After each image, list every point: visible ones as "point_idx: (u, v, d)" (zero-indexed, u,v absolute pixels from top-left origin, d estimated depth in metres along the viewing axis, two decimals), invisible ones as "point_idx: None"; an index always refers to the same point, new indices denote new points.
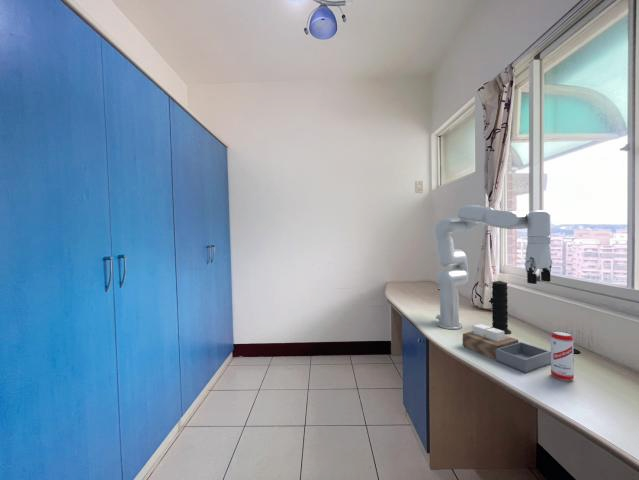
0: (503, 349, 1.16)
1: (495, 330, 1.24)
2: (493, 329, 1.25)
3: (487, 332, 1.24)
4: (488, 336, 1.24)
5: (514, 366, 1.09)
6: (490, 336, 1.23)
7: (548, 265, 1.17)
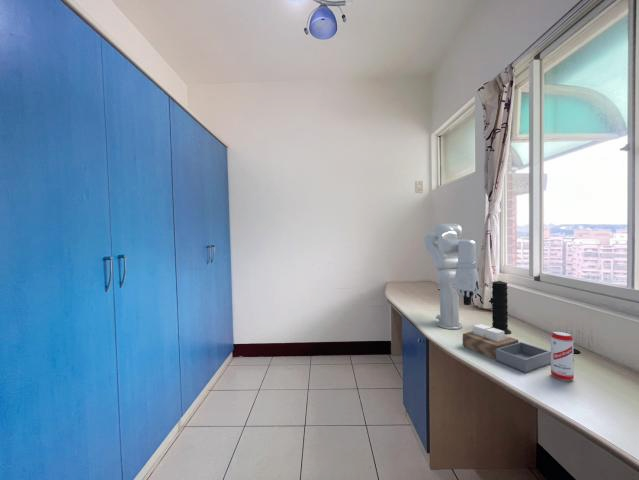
0: (503, 349, 1.16)
1: (495, 330, 1.24)
2: (493, 329, 1.25)
3: (487, 332, 1.24)
4: (488, 336, 1.24)
5: (514, 366, 1.09)
6: (490, 336, 1.23)
7: None
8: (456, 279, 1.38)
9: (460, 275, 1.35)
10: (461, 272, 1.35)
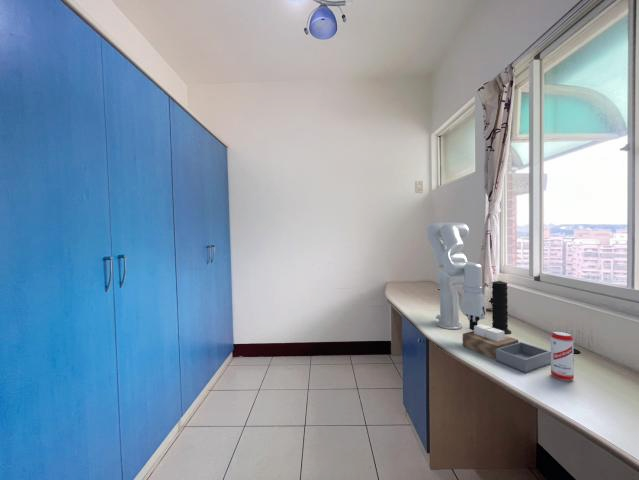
0: (503, 349, 1.16)
1: (495, 330, 1.24)
2: (493, 329, 1.25)
3: (487, 332, 1.24)
4: (488, 336, 1.24)
5: (514, 366, 1.09)
6: (490, 336, 1.23)
7: None
8: (462, 303, 1.35)
9: (466, 299, 1.33)
10: (467, 296, 1.33)
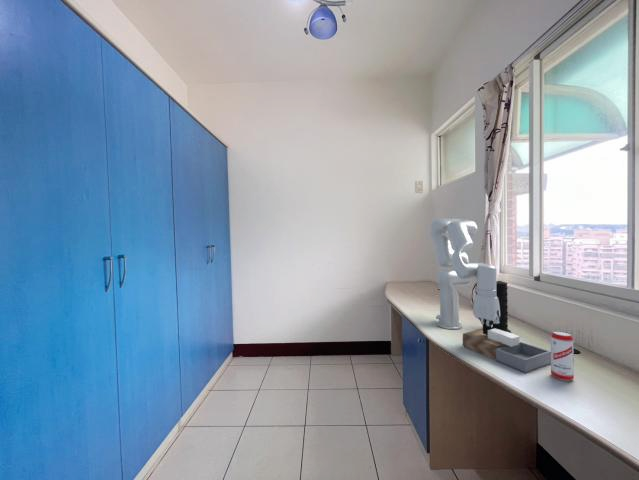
0: (503, 349, 1.16)
1: (509, 335, 1.18)
2: (507, 333, 1.19)
3: (501, 336, 1.19)
4: (502, 340, 1.19)
5: (514, 366, 1.09)
6: (504, 341, 1.18)
7: None
8: (475, 306, 1.29)
9: (479, 302, 1.27)
10: (480, 299, 1.27)
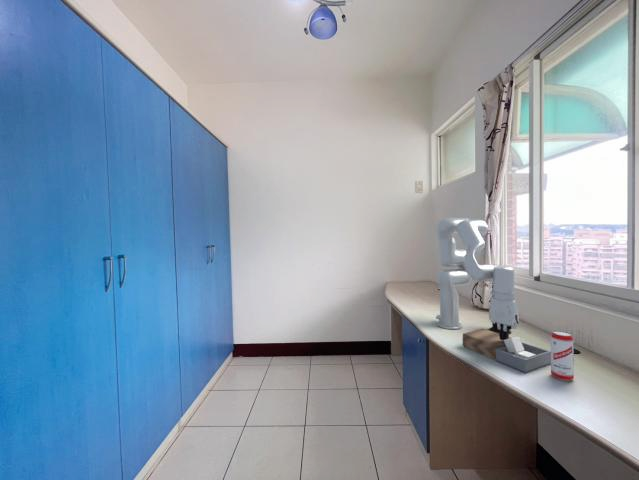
0: (503, 349, 1.16)
1: None
2: None
3: None
4: (524, 358, 1.11)
5: (514, 366, 1.09)
6: (521, 357, 1.12)
7: None
8: (491, 310, 1.22)
9: (496, 306, 1.20)
10: (497, 303, 1.20)
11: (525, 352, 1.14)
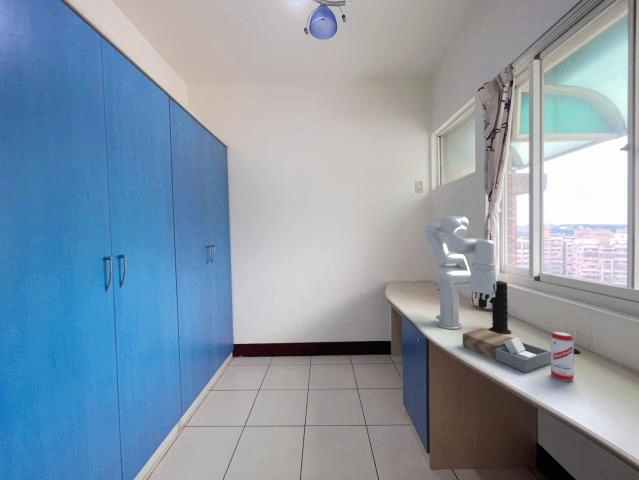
0: (503, 349, 1.16)
1: None
2: None
3: None
4: (526, 358, 1.10)
5: (514, 366, 1.09)
6: (523, 358, 1.11)
7: None
8: (471, 281, 1.31)
9: (476, 277, 1.28)
10: (477, 273, 1.28)
11: (526, 352, 1.13)
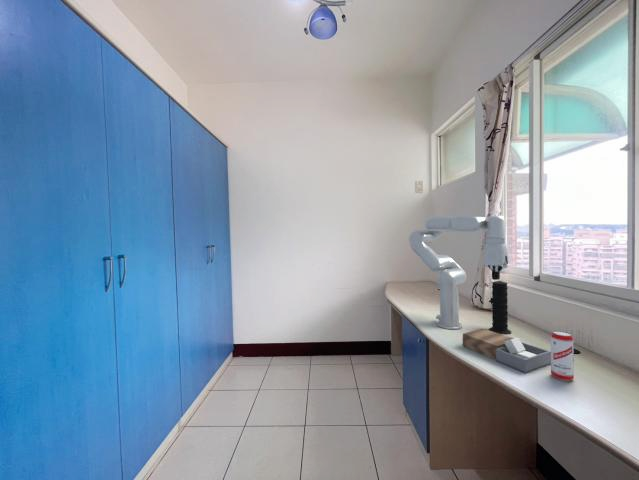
0: (503, 349, 1.16)
1: None
2: None
3: None
4: (526, 358, 1.10)
5: (514, 366, 1.09)
6: (523, 358, 1.11)
7: None
8: (484, 255, 1.40)
9: (489, 250, 1.38)
10: (489, 247, 1.38)
11: (526, 352, 1.13)
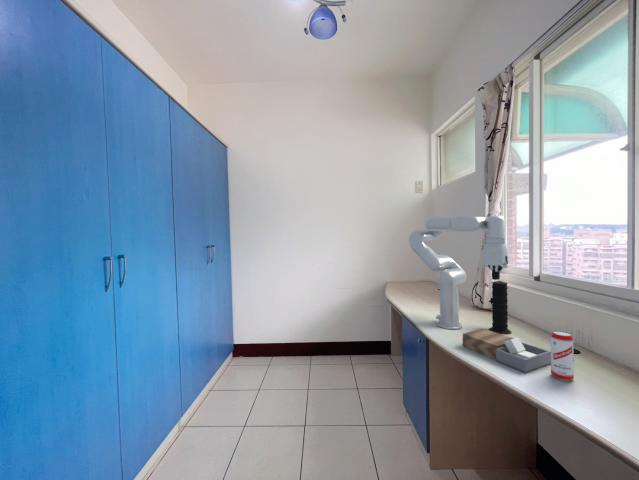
0: (503, 349, 1.16)
1: None
2: None
3: None
4: (526, 358, 1.10)
5: (514, 366, 1.09)
6: (523, 358, 1.11)
7: None
8: (484, 255, 1.40)
9: (489, 250, 1.38)
10: (489, 247, 1.38)
11: (526, 352, 1.13)
